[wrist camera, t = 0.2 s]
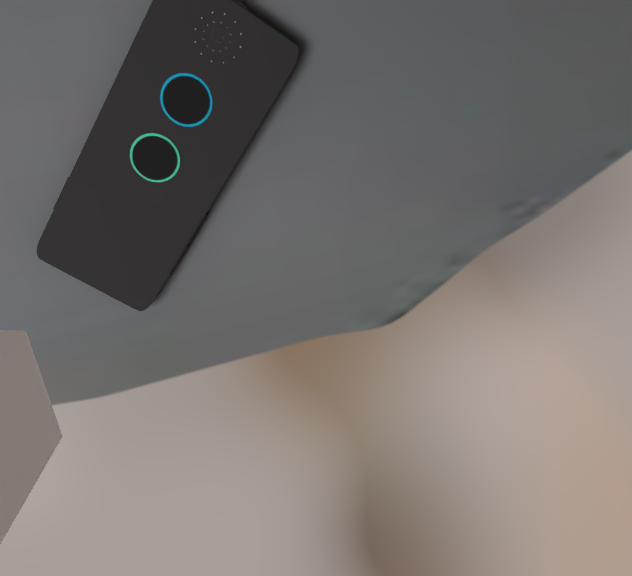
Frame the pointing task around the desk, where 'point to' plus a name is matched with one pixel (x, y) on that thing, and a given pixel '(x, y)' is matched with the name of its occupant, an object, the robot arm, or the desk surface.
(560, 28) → the desk surface
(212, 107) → the smart home device
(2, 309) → the desk surface
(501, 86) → the desk surface
